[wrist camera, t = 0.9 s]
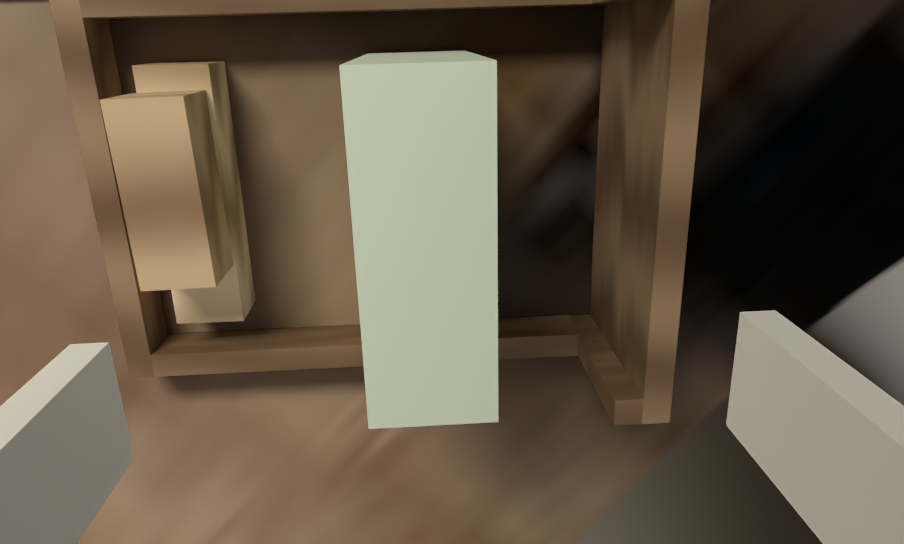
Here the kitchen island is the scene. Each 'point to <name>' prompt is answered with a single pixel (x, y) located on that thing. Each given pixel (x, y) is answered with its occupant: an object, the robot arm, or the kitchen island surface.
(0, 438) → the robot arm
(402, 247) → the tall block
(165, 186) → the offcut short
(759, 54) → the kitchen island surface
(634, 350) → the rack
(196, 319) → the block
